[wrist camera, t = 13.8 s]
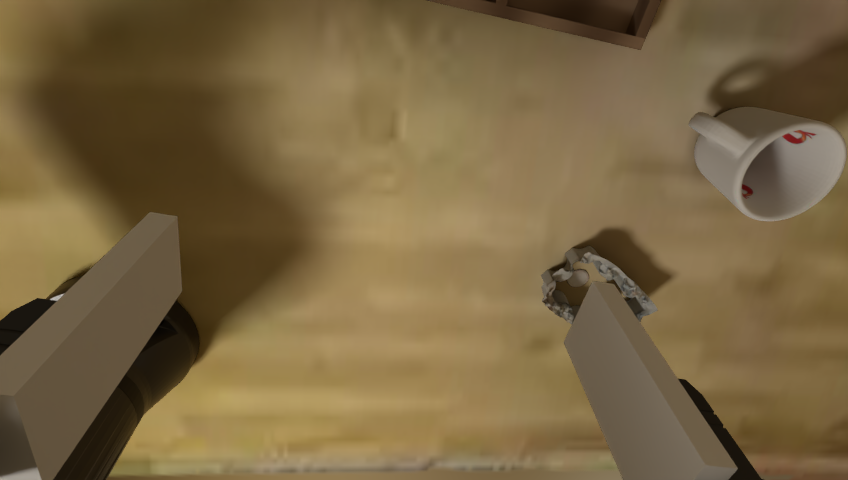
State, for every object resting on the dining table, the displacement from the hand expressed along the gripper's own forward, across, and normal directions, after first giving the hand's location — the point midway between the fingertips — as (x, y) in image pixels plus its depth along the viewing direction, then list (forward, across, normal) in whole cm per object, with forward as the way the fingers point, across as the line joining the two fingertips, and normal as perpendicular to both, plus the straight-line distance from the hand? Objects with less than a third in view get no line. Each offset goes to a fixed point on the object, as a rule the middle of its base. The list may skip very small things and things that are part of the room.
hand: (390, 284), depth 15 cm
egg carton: (+27, +23, -16) cm, 39 cm away
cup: (+27, +28, +2) cm, 39 cm away
